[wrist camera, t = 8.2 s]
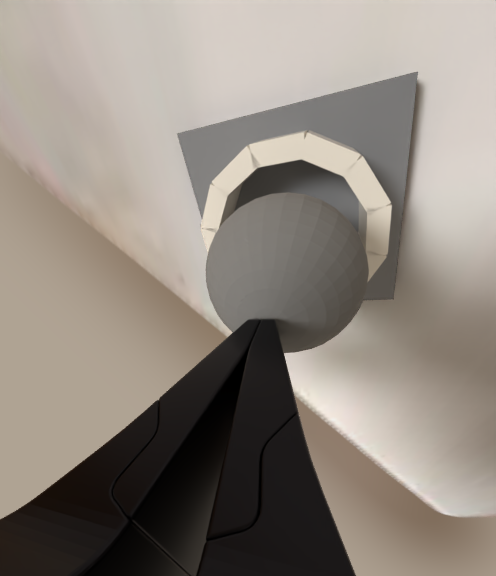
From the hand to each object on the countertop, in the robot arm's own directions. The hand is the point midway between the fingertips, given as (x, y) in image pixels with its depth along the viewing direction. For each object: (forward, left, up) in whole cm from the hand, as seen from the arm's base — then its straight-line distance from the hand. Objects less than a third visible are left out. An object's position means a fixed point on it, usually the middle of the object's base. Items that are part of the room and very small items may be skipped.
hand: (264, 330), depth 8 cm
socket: (0, 0, -11) cm, 11 cm away
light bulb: (0, 0, -10) cm, 10 cm away
